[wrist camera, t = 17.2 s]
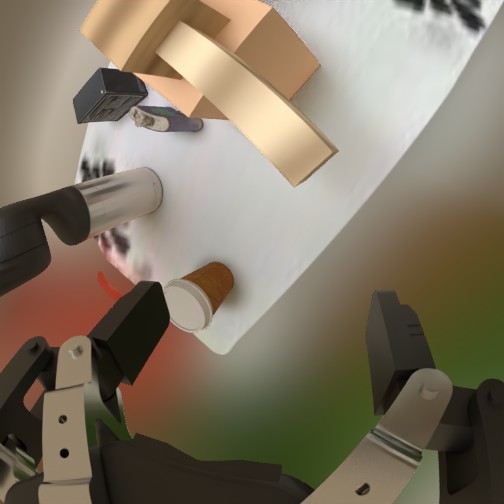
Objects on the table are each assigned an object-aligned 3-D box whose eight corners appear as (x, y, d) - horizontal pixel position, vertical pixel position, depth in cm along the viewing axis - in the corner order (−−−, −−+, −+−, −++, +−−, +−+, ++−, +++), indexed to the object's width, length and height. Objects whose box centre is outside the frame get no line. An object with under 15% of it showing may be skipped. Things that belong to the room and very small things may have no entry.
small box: (140, 69, 43) (99, 65, 34) (149, 94, 44) (106, 93, 35) (110, 97, 48) (70, 99, 39) (117, 121, 49) (77, 125, 41)
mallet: (362, 132, 17) (358, 125, 11) (292, 193, 21) (256, 218, 15) (172, -13, 17) (122, -35, 11) (133, 39, 20) (79, 30, 14)
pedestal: (320, 65, 32) (272, 7, 15) (269, 124, 38) (188, 117, 22) (249, 21, 32) (169, -31, 16) (206, 76, 39) (111, 57, 22)
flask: (205, 119, 42) (162, 119, 33) (199, 135, 44) (156, 138, 35) (166, 105, 44) (121, 103, 35) (161, 119, 45) (117, 121, 36)
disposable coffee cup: (223, 307, 55) (189, 343, 45) (190, 272, 55) (151, 302, 45) (251, 281, 50) (218, 318, 40) (214, 243, 50) (173, 271, 40)
